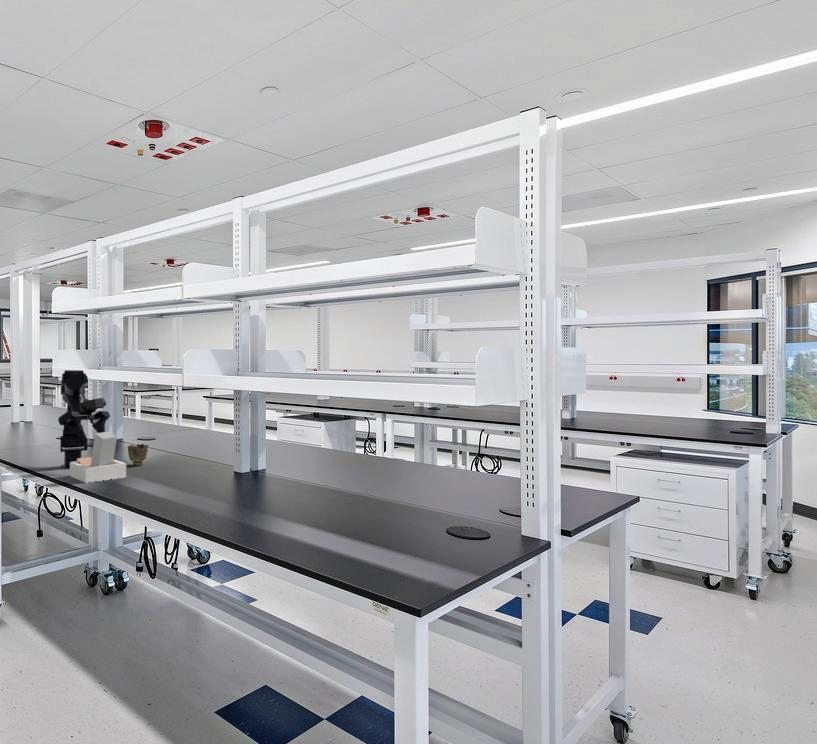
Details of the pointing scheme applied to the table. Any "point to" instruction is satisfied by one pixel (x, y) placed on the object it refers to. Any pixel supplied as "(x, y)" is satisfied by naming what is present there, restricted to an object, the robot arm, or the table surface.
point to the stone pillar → (103, 449)
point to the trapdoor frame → (97, 472)
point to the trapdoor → (85, 461)
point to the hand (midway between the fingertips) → (94, 437)
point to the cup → (137, 453)
